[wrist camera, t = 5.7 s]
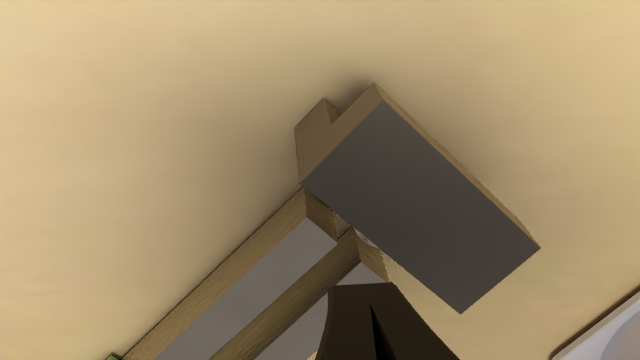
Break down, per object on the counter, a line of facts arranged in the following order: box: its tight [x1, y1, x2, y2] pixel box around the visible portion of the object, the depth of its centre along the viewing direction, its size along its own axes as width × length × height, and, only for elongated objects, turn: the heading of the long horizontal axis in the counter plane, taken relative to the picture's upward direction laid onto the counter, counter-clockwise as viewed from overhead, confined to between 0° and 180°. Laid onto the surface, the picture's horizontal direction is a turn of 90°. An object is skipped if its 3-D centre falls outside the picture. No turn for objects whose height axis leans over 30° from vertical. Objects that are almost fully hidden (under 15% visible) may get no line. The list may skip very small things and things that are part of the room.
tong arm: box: [107, 187, 338, 360], centre depth 21 cm, size 2×12×2 cm, turn 135°
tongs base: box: [210, 226, 389, 360], centre depth 22 cm, size 4×15×2 cm, turn 136°
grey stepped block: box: [295, 82, 541, 314], centre depth 18 cm, size 7×3×4 cm, turn 47°
